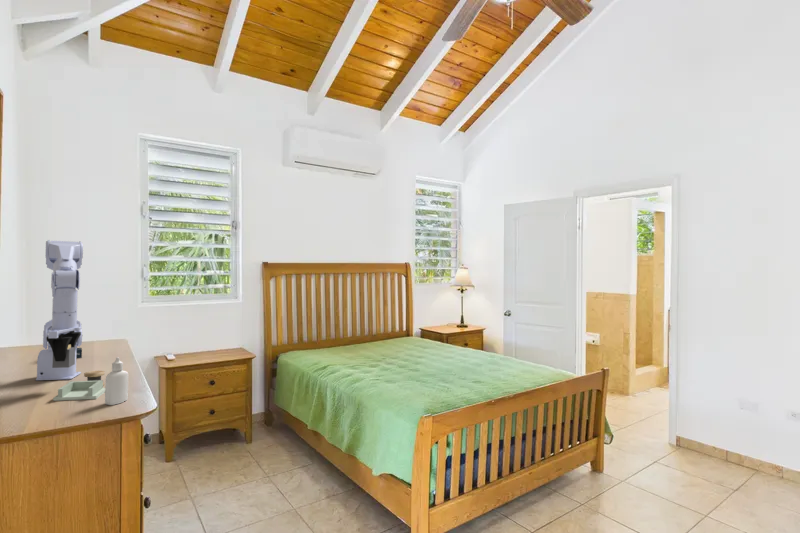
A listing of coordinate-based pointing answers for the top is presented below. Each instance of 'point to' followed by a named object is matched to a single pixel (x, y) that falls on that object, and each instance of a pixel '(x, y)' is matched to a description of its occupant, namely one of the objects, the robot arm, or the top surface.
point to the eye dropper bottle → (116, 384)
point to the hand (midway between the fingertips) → (63, 359)
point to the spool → (94, 375)
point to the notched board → (80, 390)
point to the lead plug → (68, 361)
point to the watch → (79, 352)
